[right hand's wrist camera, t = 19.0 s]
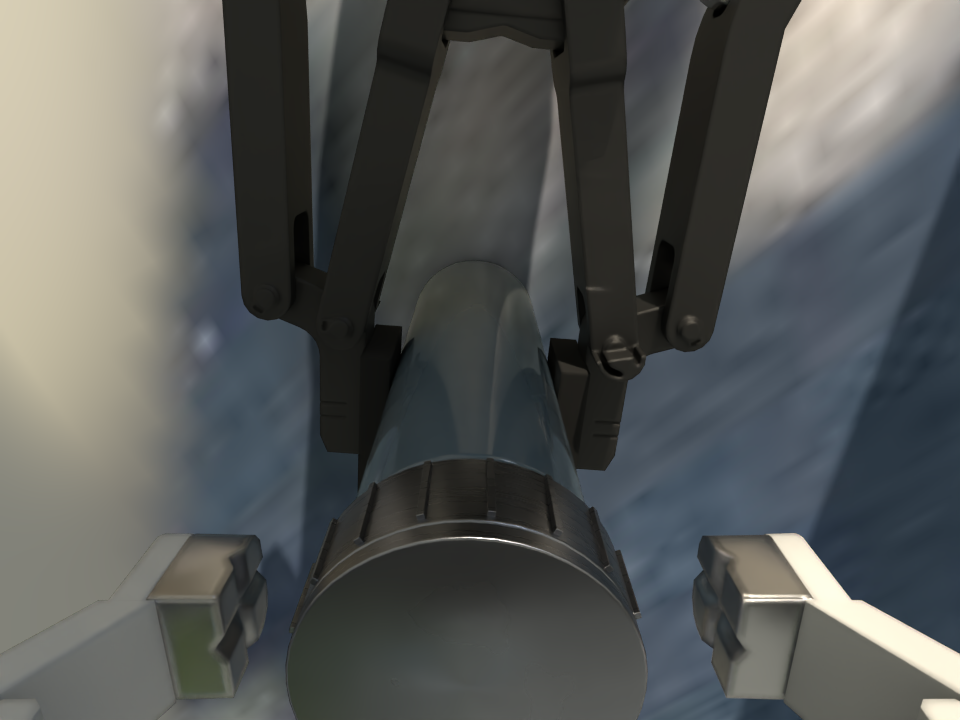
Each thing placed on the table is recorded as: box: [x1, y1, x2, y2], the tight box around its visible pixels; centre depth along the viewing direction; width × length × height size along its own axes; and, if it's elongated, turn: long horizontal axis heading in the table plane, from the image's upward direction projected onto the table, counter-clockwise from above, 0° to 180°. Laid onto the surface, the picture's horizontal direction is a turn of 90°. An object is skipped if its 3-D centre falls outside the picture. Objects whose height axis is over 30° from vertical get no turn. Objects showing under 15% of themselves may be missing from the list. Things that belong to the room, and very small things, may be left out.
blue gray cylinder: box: [356, 260, 585, 503], centre depth 17 cm, size 4×4×16 cm
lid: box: [286, 458, 648, 720], centre depth 10 cm, size 5×5×2 cm
